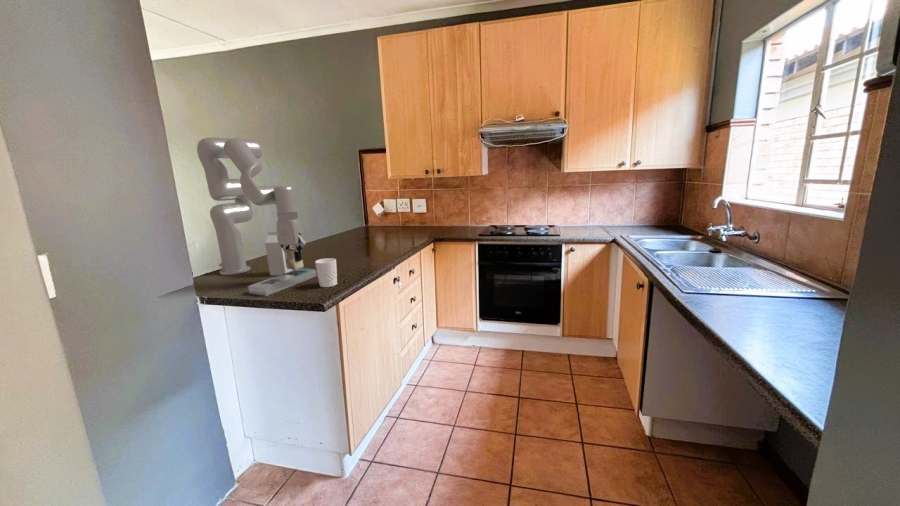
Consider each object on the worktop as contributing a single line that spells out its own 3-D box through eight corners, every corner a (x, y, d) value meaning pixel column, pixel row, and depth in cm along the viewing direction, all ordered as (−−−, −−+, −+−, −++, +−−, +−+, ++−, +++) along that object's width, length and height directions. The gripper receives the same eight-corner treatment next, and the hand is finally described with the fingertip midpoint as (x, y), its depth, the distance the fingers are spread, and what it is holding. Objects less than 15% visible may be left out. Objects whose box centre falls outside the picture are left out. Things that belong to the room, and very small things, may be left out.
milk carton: (285, 275, 160) (279, 233, 156) (270, 275, 161) (263, 233, 156) (292, 271, 167) (287, 230, 163) (277, 271, 168) (271, 230, 163)
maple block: (286, 268, 150) (283, 250, 149) (295, 266, 154) (292, 247, 153) (295, 269, 149) (292, 250, 147) (303, 266, 153) (300, 248, 151)
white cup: (342, 282, 148) (339, 258, 145) (331, 288, 140) (328, 263, 138) (325, 281, 150) (322, 257, 147) (313, 287, 142) (310, 262, 140)
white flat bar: (266, 295, 134) (264, 287, 133) (249, 293, 138) (247, 285, 137) (316, 276, 157) (315, 269, 157) (300, 274, 161) (300, 267, 160)
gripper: (264, 217, 147) (271, 261, 151) (296, 218, 140) (302, 263, 144) (279, 215, 153) (286, 257, 157) (310, 215, 147) (316, 259, 151)
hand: (294, 259), depth 151 cm, fingers closed on maple block, 4 cm apart
